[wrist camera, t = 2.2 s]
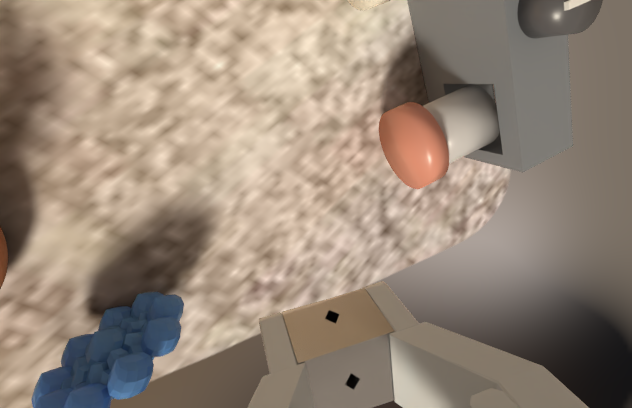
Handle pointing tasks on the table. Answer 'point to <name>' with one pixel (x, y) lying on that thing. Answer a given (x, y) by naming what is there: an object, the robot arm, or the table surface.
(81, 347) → the grapes
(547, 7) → the pot dial
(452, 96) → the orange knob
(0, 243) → the ceramic jug
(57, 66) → the table surface
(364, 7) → the cream knob
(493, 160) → the mount
